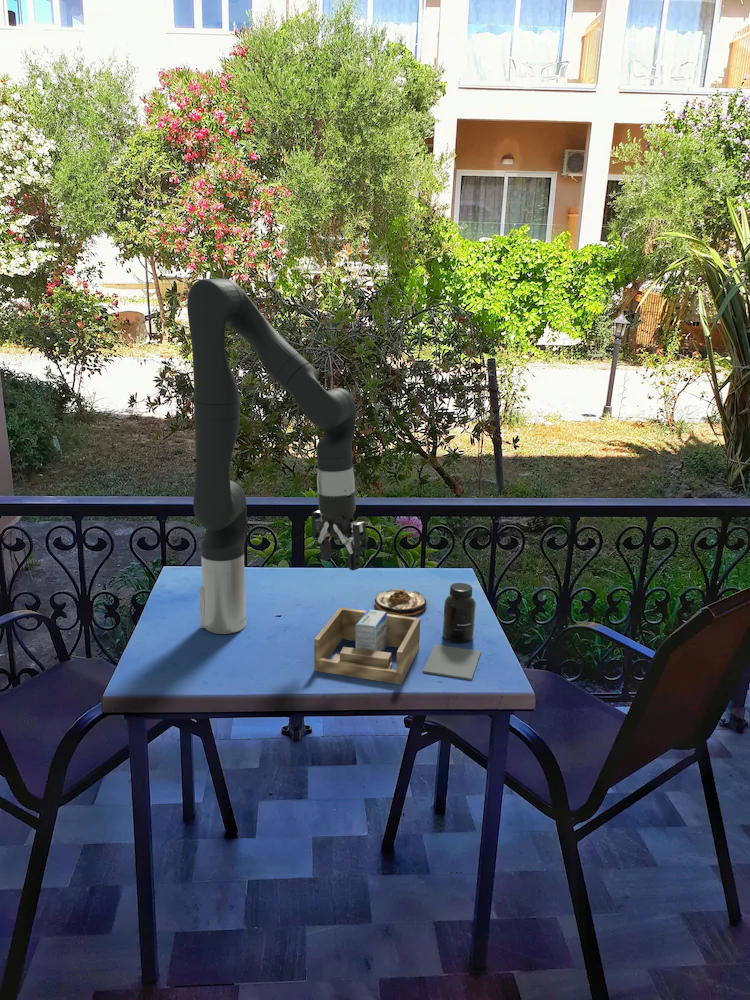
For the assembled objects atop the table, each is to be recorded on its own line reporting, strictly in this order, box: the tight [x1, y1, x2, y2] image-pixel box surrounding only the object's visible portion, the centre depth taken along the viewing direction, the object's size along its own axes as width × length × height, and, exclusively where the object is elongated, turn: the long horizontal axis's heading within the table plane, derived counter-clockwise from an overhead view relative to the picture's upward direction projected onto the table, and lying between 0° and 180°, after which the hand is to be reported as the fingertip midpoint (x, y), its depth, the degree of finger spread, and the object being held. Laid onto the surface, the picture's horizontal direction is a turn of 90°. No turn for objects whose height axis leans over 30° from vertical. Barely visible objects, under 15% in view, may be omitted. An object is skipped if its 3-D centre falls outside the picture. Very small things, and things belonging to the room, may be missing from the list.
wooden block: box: [331, 646, 393, 669], centre depth 162 cm, size 12×3×4 cm, turn 74°
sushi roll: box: [374, 588, 428, 617], centre depth 192 cm, size 15×15×4 cm
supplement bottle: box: [442, 582, 477, 644], centre depth 176 cm, size 7×7×12 cm
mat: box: [422, 644, 482, 681], centre depth 166 cm, size 10×12×1 cm
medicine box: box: [355, 609, 387, 652], centre depth 168 cm, size 8×4×9 cm, turn 162°
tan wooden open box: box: [313, 606, 421, 685], centre depth 166 cm, size 18×16×7 cm
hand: (340, 564), depth 166 cm, fingers open, 8 cm apart
